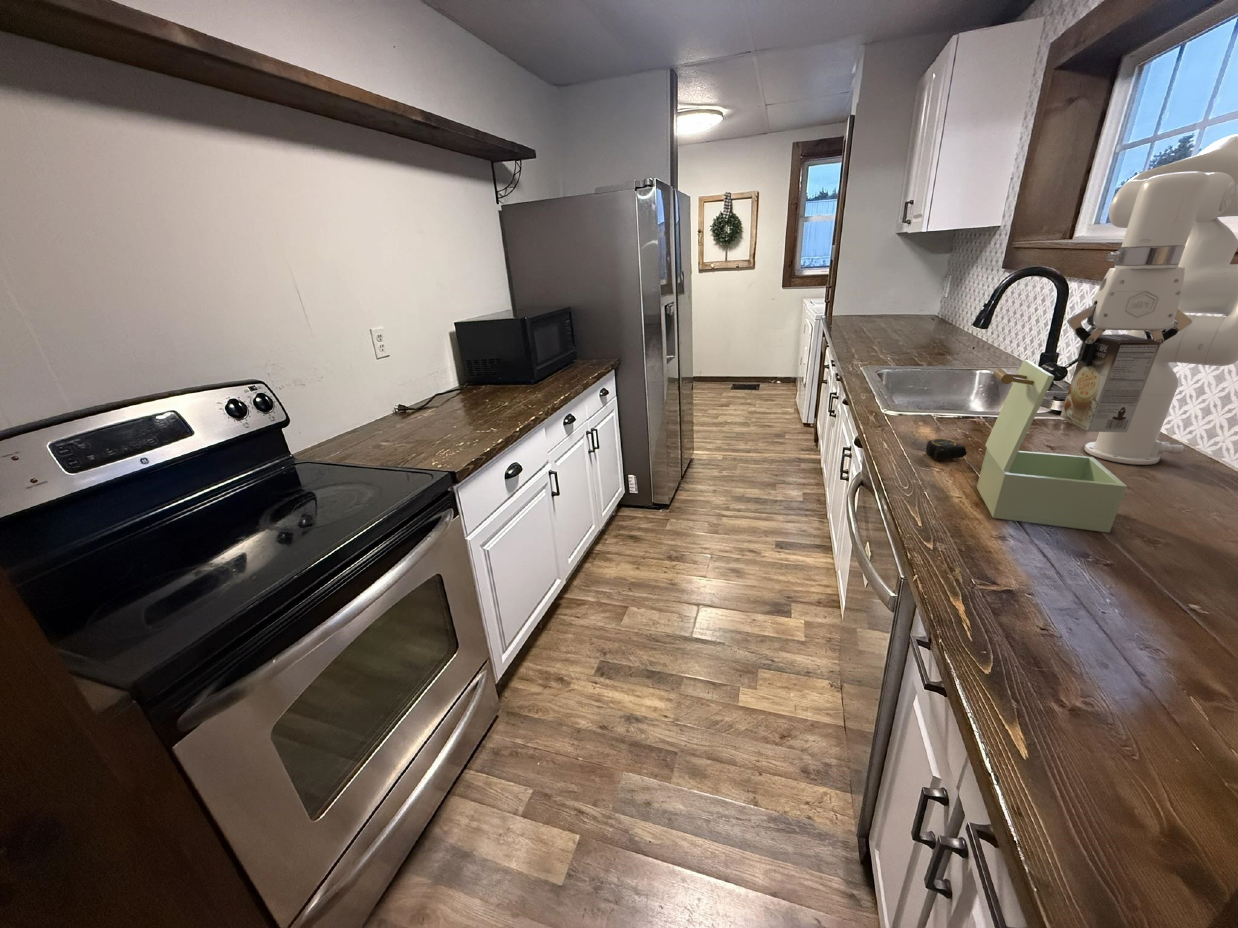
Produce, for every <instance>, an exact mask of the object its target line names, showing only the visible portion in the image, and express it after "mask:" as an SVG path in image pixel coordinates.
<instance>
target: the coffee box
mask: <svg viewBox="0 0 1238 928" xmlns="http://www.w3.org/2000/svg"><path fill="white" fill-rule="evenodd" d="M1095 344H1096V345H1097V348H1096V351H1095V354H1094V357H1093V360H1092V363H1091V366H1089V367H1088V366H1083V365H1081V364H1079V361H1078V360H1077V362H1076V366H1075V368H1074V373H1073V375H1072V377H1071V381H1070V384H1069V387H1068V390H1067V394H1066V397H1065V400H1064V403H1063V406H1062V410H1061V413H1060V416H1059V417H1060V418H1061V419H1063V420H1065V421H1067V422H1069V423H1071V424H1073V425H1075V426H1076V427H1079V428H1081V429H1083V430H1085V431H1086V432H1089V433H1091V432H1094V433H1095V432H1096V433H1097V432H1098V433H1099V432H1127V430H1128V428H1129V425H1130V423H1131V420H1132V417H1133V415H1134V412H1135V410H1136V407H1137V404H1138V402H1139V399H1140V397H1141V394H1142V391H1143V389H1144V386H1145V384H1146V381H1147V378H1148V376H1149V373H1150V370H1151V368H1152V365H1153V363H1154V360H1155V358H1156V355H1157V352H1158V350H1159V347H1160V345H1161V342H1157V341H1152V340H1148V339H1144V338H1139V337H1135V336H1131V335H1127V333H1117V334H1116V333H1115V334H1114V333H1113V334H1112V333H1111V334H1108V333H1107V334H1102V335H1101V336H1100V337H1099V338H1098V339H1097V340H1096V341H1095Z"/></svg>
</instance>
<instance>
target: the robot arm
mask: <svg viewBox="0 0 1238 928" xmlns="http://www.w3.org/2000/svg"><path fill="white" fill-rule="evenodd" d="M1225 217H1238V133H1237V134H1232V135H1229V136H1226V137H1223V138H1220V139H1219V140H1217V141H1214V142H1213V143H1211V144H1210V145H1209V146H1207V147H1206V148H1204V149H1203V150H1202V151H1200V152H1199V153H1198V154H1197V155H1193V156H1190V157H1185V158H1183V159H1180V160H1176V161H1174V162H1171V163H1167V164H1164V165H1163V164H1162V165H1160V166H1157V167H1154V168H1150V169H1147V170H1145V171H1142V172H1139V173H1138V174H1136V175H1134V176H1133V177H1132V178H1130V179H1129V180H1128V181H1126V182H1125V183H1124V184H1123V185H1122V186H1121V187H1120V188H1119V189H1118V191H1117V192H1116V193H1115V194H1114V196H1113V198H1112V200H1111V203H1110V205H1109V208H1108V220H1109V222H1110V224H1111V225H1112V226H1114V227H1116V228H1120V229H1121V228H1122V229H1126V230H1125V234H1124V237H1123V241H1122V243H1121V247H1120V248H1118V250H1117V251H1115V252H1109V253H1108V254H1107V256H1106V262H1112V263H1113V265H1114V268H1113V267H1112V268H1109V269H1108V271H1106V274H1105V276H1104V277H1103V279H1102V282H1100V285H1099V287H1098V288H1097V291H1096V293H1095V296H1094V299H1093V300H1092V303H1091V305H1090V306H1089V307H1087V308H1085V309H1083V310H1081V311H1080V312H1078V313H1076V314H1074V315H1072V316H1071V317H1069V318H1068V319H1067V320H1066V323H1067V324H1068V326H1069V327H1070V329H1071V330H1072V332H1073V333H1074V334H1075V335H1076V337H1077V338H1078V339H1079V341H1080V342H1081V346H1080V348H1079V351H1078V355H1077V362H1078V361H1079V364H1081V365H1083V366H1088V367H1089V366H1091V363H1092V360H1093V357H1094V354H1095V351H1096V348H1097V345H1096V344H1095V341H1096V340H1097V339H1098V338H1099V337H1100V336H1101V335H1104V333H1105V332H1106V331H1127V332H1126V334H1127V335H1131V336H1135V337H1139V338H1144V339H1148V340H1152V341H1157V342H1161V345H1160V347H1159V350H1158V352H1157V355H1156V358H1155V360H1154V363H1153V365H1152V368H1151V370H1150V373H1149V376H1148V378H1147V381H1146V384H1145V386H1144V389H1143V391H1142V394H1141V397H1140V399H1139V402H1138V404H1137V407H1136V410H1135V412H1134V415H1133V417H1132V420H1131V423H1130V425H1129V428H1128V430H1127V432H1098V434H1097V437H1096V440H1095V441H1091V442H1087V443H1085V445H1084V451H1085V452H1086V453H1087V454H1088V455H1090V456H1092V457H1094V458H1099V459H1102V460H1105V461H1109V462H1114V463H1120V464H1126V465H1138V466H1140V465H1141V466H1148V465H1155V464H1157V463H1159V462H1160V459H1161V456H1160V455H1159V454H1164V453H1169V454H1177V455H1181V454H1183V453H1184V451H1185V446H1184V445H1183V444H1170V442H1169V441H1160V440H1159V439H1158V438H1159V437H1160V433H1161V430H1162V428H1163V425H1164V423H1165V420H1166V417H1167V415H1168V413H1169V410H1170V407H1171V405H1172V402H1173V400H1174V397H1175V395H1176V392H1177V390H1178V387H1179V378H1178V376H1177V374H1176V373H1175V371H1174V369H1173V368H1172V366H1171V365H1170V363H1172V364H1173V363H1174V364H1177V363H1180V364H1190V365H1201V366H1213V367H1226V366H1230V365H1234V364H1236V363H1237V362H1238V263H1237V264H1236V263H1235V264H1231V262H1232V260H1233V259H1234V256H1235V254H1236V252H1237V251H1238V238H1237V236H1236V235H1235V233H1234V232H1233V230H1231V228H1230V227H1229V226H1227V225H1226V224H1225V223H1224V222H1222V221H1221V220H1220V218H1225ZM1196 314H1205V315H1196ZM1206 314H1207V315H1206ZM1217 315H1219V316H1217ZM1220 315H1224V316H1220ZM1085 320H1086V324H1087V325H1088V326H1089V328H1088V329H1086V328H1084V326H1083V324H1082V322H1083V321H1085Z"/></svg>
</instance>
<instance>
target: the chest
mask: <svg viewBox="0 0 1238 928" xmlns="http://www.w3.org/2000/svg"><path fill="white" fill-rule="evenodd" d="M976 489H977V491H978V493H979V495H980V497H981V498H982V500H983V502H984V504H985V506H986V508H987V510H988V512H989V513H990V515H991V517H992V518H993V519H998V520H1008V521H1016V522H1022V523H1030V524H1038V525H1044V526H1045V525H1046V526H1047V525H1048V526H1053V527H1054V526H1055V527H1060V528H1061V527H1062V528H1070V529H1077V530H1085V531H1094V532H1101V533H1107V534H1108V533H1111V530H1112V527H1113V525H1114V523H1115V520H1116V517H1117V514H1118V511H1119V509H1120V507H1121V504H1122V501H1123V499H1124V497H1125V493H1126V491H1127V489H1128V485H1126V484H1125V483H1124V482H1123V481H1122V480H1120V479H1119V478H1118V477H1117V476H1116V475H1114V474H1113V472H1111V471H1110V470H1109V469H1108V468H1107V467H1105V466H1104V465H1103V464H1102V463H1101V462H1099V460H1097V459H1096V457H1095V456H1088V455H1087V456H1086V455H1074V454H1064V453H1063V454H1062V453H1050V452H1039V451H1026V450H1019V451H1018V453H1017V455H1016V457H1015V459H1014V461H1013V463H1012V465H1011V467H1010V469H1009V471H1008V472H1004V471H1003V470H1002V469H1001V468H1000V466H999V465H998V463H997V462H996V460H995V459H994V457H993V456H992V455H991V453H990V452H989V450H988V449H987V448H986V450H985V453H984V457H983V461H982V465H981V469H980V473H979V477H978V481H977V484H976Z"/></svg>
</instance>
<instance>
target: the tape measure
mask: <svg viewBox="0 0 1238 928" xmlns="http://www.w3.org/2000/svg"><path fill="white" fill-rule="evenodd" d="M925 453H926V455H927V456H928V457H931V458H933V459H937V460H943V461H946V460H953V459H961V458H963V457H965V456H967V453H968V451H967V450H966V447H965V446H964V445H961V444H958V442H956V441H953V440H951V439H946V438H934V439H930V440H928V441H927V444H926V447H925Z"/></svg>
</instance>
